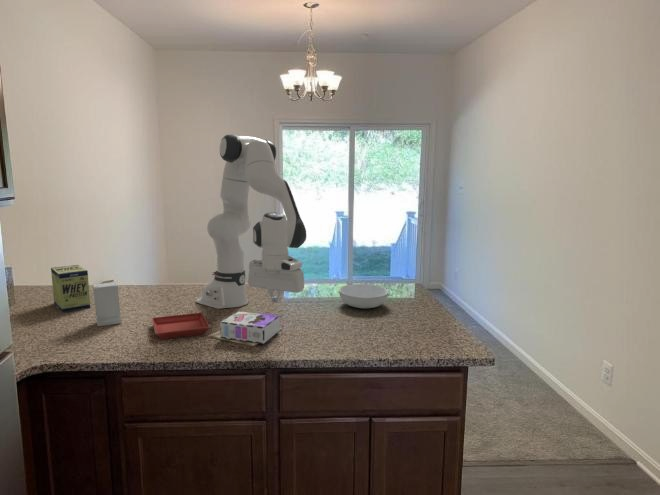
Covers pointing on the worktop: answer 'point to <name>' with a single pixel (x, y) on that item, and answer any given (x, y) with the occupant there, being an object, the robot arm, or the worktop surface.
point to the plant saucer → (180, 325)
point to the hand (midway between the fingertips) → (275, 302)
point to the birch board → (217, 335)
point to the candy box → (250, 327)
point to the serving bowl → (363, 295)
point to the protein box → (70, 288)
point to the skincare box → (107, 303)
